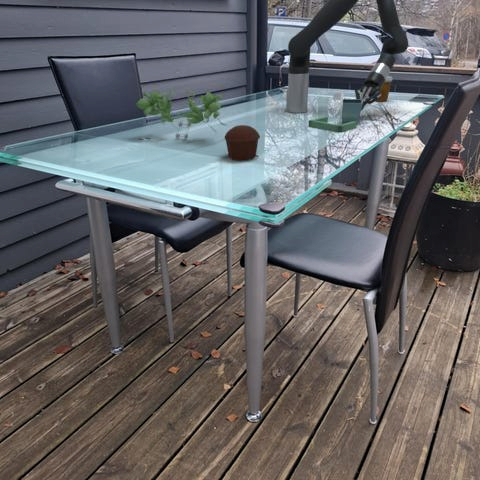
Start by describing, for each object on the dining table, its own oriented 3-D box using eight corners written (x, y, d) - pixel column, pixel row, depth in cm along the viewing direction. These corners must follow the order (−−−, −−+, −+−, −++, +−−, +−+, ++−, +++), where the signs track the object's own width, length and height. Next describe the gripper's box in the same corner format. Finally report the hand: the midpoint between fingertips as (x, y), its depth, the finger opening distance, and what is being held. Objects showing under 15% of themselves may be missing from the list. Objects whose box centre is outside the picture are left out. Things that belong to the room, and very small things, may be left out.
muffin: (232, 163, 145) (231, 132, 141) (219, 155, 154) (218, 125, 150) (266, 158, 149) (266, 127, 145) (251, 150, 158) (251, 121, 154)
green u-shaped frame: (308, 126, 189) (309, 89, 182) (324, 122, 195) (326, 86, 188) (339, 132, 178) (342, 93, 171) (356, 128, 184) (359, 90, 178)
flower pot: (360, 125, 188) (362, 102, 184) (338, 124, 190) (340, 102, 186) (360, 120, 196) (362, 99, 192) (339, 120, 198) (341, 98, 194)
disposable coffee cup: (392, 100, 238) (395, 75, 232) (387, 103, 231) (389, 78, 225) (374, 99, 242) (376, 75, 237) (368, 101, 235) (370, 77, 230)
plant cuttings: (155, 148, 190) (126, 125, 170) (165, 110, 193) (137, 82, 172) (233, 155, 178) (212, 130, 157) (242, 114, 181) (223, 85, 160)
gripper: (361, 69, 198) (341, 103, 196) (388, 72, 189) (368, 106, 187) (367, 81, 203) (348, 113, 202) (393, 83, 195) (374, 117, 193)
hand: (358, 110), depth 195 cm, fingers closed
